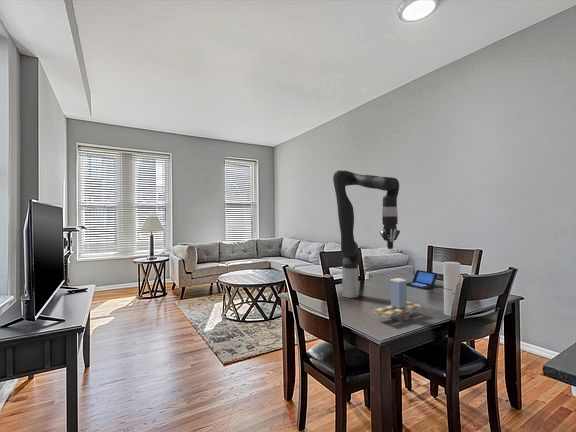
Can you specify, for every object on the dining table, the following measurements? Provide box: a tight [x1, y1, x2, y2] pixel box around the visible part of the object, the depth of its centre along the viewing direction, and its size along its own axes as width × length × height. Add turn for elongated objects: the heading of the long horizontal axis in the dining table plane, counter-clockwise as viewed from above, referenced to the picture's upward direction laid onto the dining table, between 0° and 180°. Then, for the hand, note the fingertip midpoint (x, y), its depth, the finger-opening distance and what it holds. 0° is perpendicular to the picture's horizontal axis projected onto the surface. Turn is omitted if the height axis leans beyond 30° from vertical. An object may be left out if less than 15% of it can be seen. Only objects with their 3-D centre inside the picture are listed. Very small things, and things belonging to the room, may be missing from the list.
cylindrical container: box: [443, 261, 461, 317], centre depth 148 cm, size 7×7×25 cm
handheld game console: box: [406, 269, 438, 291], centre depth 202 cm, size 16×13×9 cm
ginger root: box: [372, 300, 422, 323], centre depth 144 cm, size 24×8×5 cm, turn 120°
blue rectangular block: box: [389, 277, 408, 309], centre depth 144 cm, size 5×5×14 cm
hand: (390, 248), depth 158 cm, fingers closed
